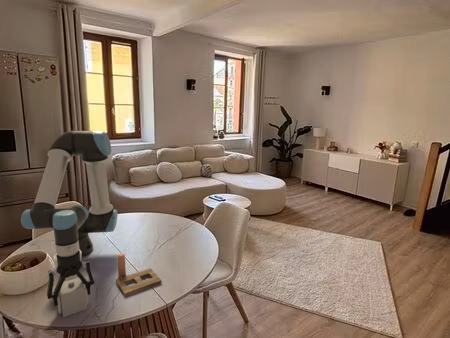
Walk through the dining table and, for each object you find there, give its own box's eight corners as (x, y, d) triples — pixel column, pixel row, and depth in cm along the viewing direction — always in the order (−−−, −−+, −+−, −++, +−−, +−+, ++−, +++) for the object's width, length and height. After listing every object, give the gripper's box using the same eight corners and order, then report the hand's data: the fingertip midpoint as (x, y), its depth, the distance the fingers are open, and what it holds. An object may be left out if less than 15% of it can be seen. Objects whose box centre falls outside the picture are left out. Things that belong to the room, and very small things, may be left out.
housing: (60, 305, 112) (57, 282, 110) (82, 297, 116) (80, 275, 114) (63, 317, 106) (60, 292, 103) (87, 308, 110) (85, 285, 108)
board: (115, 282, 127) (115, 279, 127) (150, 270, 137) (150, 268, 136) (124, 296, 118) (124, 293, 117) (161, 283, 127) (161, 280, 127)
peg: (117, 274, 133) (116, 254, 131) (124, 272, 135) (123, 252, 133) (119, 278, 130) (118, 257, 128) (126, 275, 132) (125, 255, 130)
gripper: (34, 265, 97) (41, 324, 102) (101, 248, 110) (105, 301, 114) (32, 256, 103) (39, 312, 107) (96, 241, 116) (100, 292, 120)
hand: (73, 306), depth 111 cm, fingers open, 8 cm apart
